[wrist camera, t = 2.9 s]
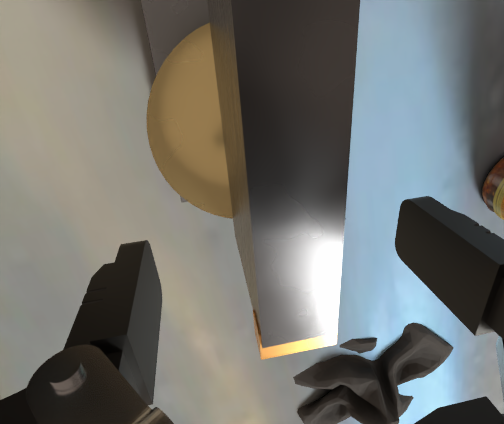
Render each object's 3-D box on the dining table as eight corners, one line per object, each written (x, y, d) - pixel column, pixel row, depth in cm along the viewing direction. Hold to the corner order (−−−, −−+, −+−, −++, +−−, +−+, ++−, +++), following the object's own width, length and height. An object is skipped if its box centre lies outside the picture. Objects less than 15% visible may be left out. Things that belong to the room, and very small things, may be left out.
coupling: (130, 4, 12) (34, -47, 5) (323, -10, 13) (517, -74, 6) (177, 223, 17) (169, 381, 9) (318, 201, 18) (420, 330, 10)
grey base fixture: (134, -40, 18) (107, -79, 11) (281, -49, 18) (327, -90, 12) (181, 196, 24) (180, 250, 18) (287, 181, 25) (319, 227, 19)
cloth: (465, 314, 38) (511, 360, 32) (412, 413, 46) (442, 462, 41) (276, 325, 33) (294, 381, 28) (256, 432, 42) (267, 491, 36)
